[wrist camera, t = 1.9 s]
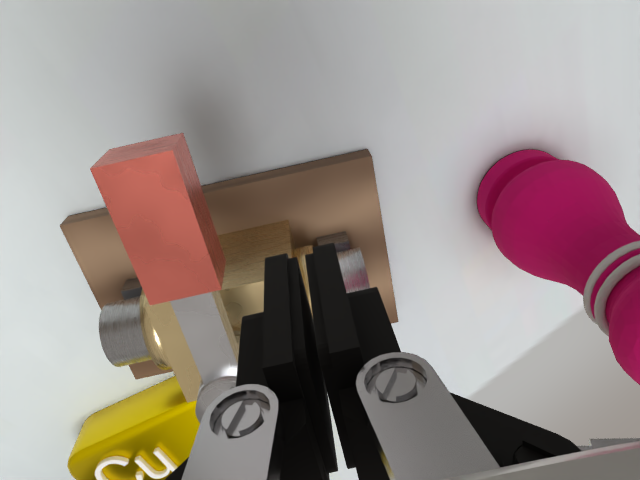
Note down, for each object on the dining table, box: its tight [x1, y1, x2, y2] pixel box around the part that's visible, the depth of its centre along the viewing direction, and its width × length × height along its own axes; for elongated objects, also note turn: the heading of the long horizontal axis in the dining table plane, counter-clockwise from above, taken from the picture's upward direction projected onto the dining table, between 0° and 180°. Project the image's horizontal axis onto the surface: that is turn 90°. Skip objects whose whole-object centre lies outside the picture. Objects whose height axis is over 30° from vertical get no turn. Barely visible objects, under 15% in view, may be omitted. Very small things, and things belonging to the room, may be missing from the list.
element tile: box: [68, 376, 200, 480], centre depth 41 cm, size 15×15×5 cm
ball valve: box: [99, 220, 370, 403], centre depth 30 cm, size 7×16×10 cm, turn 102°
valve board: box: [60, 149, 398, 379], centre depth 35 cm, size 13×20×2 cm, turn 102°
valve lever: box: [90, 133, 239, 423], centre depth 22 cm, size 14×3×2 cm, turn 12°
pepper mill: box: [477, 150, 640, 385], centre depth 26 cm, size 7×7×20 cm
